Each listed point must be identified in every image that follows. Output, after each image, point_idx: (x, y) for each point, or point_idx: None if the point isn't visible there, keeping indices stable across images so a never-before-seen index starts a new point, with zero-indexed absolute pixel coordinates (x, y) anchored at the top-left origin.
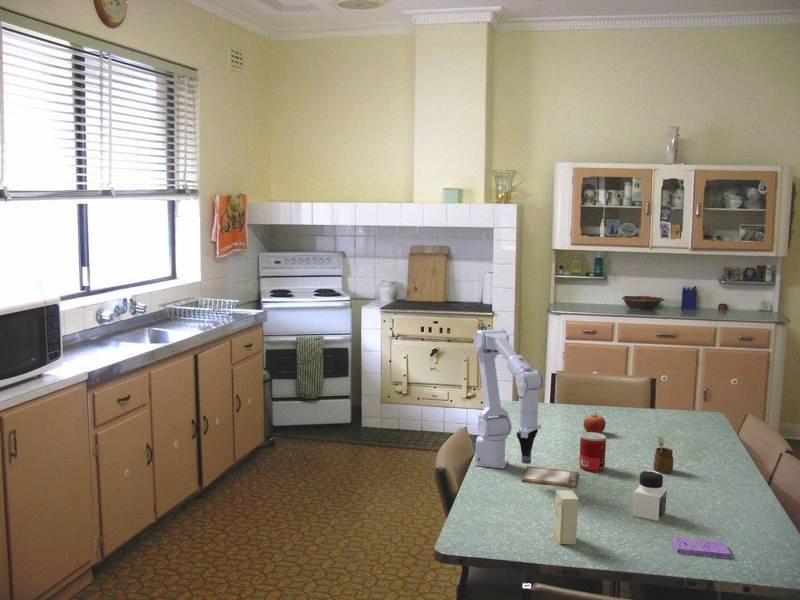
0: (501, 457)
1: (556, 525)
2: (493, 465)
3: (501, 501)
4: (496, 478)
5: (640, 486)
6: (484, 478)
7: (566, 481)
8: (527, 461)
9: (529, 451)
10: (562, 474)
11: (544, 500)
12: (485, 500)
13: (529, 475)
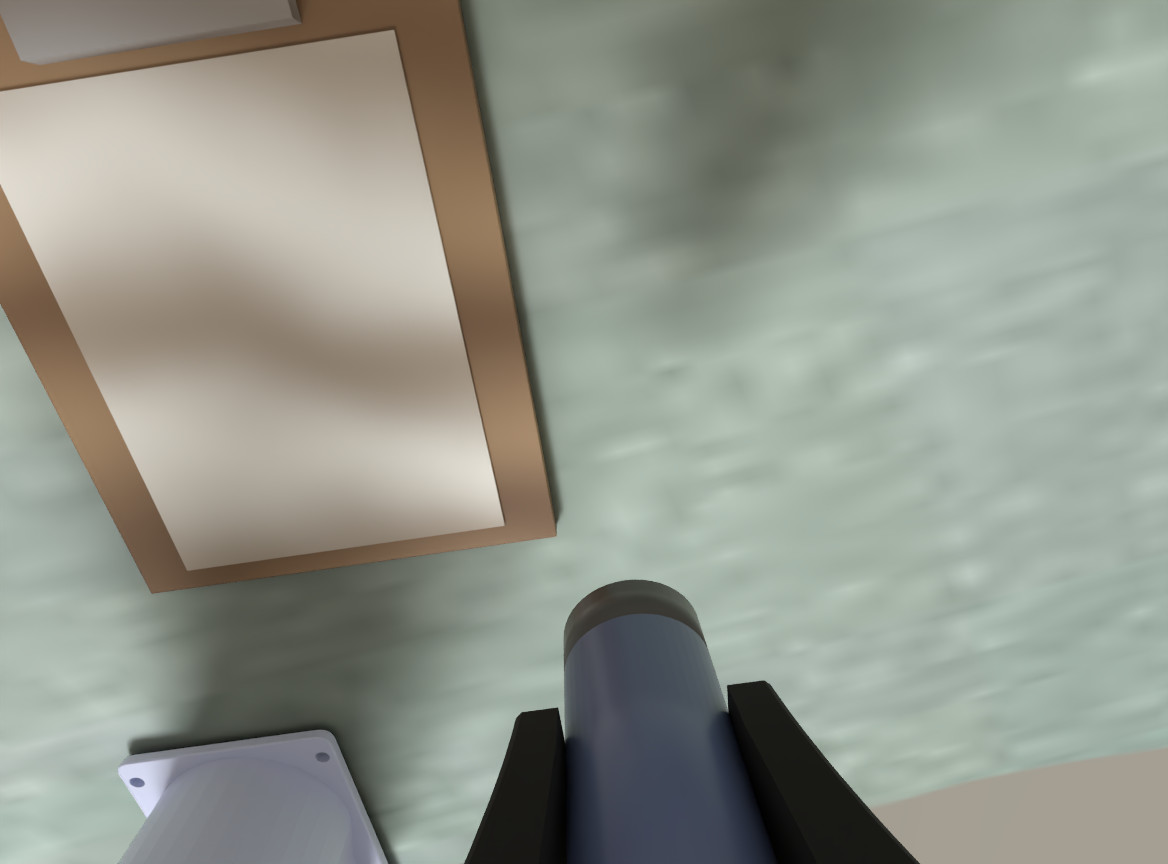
0: (254, 834)
1: None
2: (342, 803)
3: (1090, 537)
4: None
5: None
6: None
7: (351, 61)
8: (701, 631)
9: (828, 770)
10: (128, 180)
11: (996, 191)
12: (1086, 637)
13: (405, 507)
